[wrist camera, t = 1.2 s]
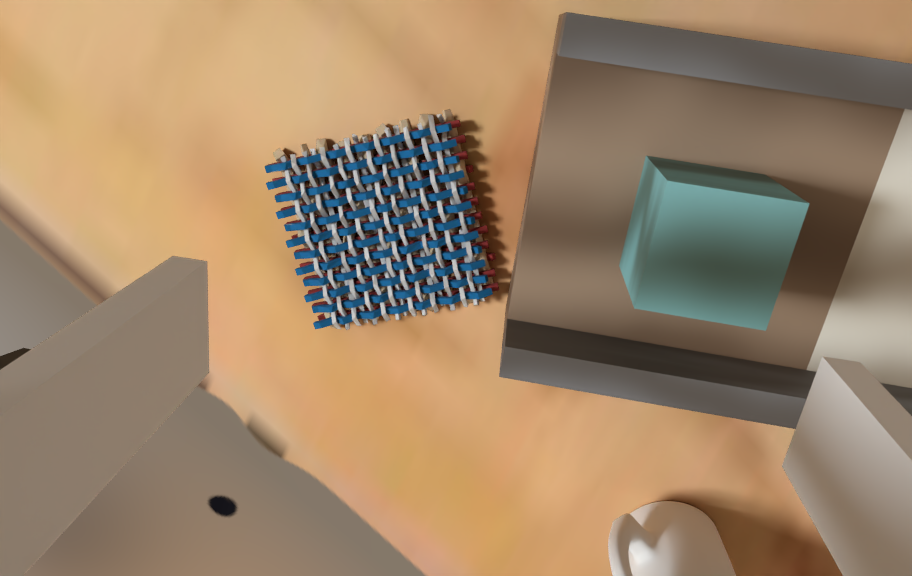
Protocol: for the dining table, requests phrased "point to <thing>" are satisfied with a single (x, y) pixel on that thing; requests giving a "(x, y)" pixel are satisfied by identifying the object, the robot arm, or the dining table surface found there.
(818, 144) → the track
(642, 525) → the mug
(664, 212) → the block
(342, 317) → the woven mat
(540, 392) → the dining table surface
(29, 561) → the robot arm
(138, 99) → the dining table surface
